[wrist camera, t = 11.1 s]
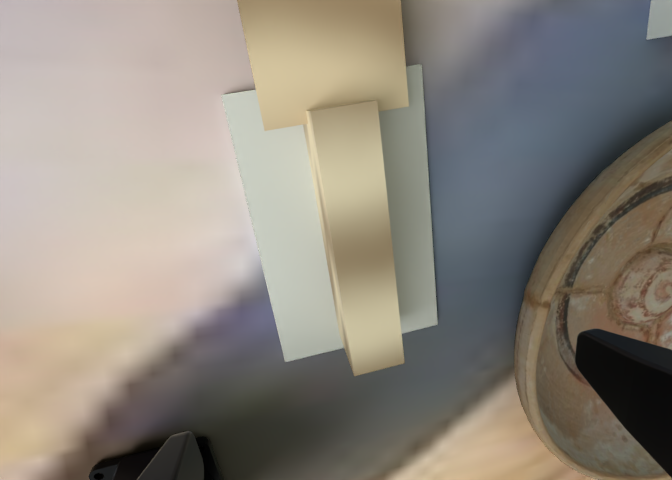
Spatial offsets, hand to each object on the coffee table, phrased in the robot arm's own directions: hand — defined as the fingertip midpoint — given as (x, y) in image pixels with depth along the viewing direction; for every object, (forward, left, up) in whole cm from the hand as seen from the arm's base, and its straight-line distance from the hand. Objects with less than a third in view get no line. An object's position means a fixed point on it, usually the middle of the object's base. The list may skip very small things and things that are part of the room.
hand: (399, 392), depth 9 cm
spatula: (+4, -1, -12) cm, 12 cm away
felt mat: (0, -1, -12) cm, 12 cm away
